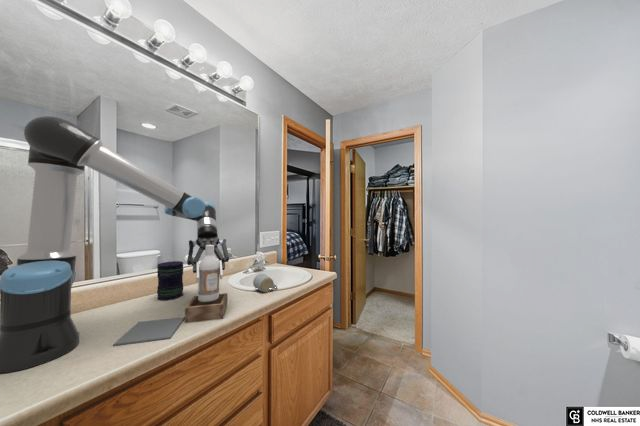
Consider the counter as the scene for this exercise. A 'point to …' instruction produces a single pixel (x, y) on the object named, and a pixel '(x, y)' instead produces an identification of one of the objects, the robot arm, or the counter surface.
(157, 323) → the rubber mat
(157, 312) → the counter surface
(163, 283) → the storage jar
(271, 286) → the ceramic mug
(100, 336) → the counter surface
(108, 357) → the counter surface
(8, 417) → the counter surface
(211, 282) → the bath foam
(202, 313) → the wooden tray
